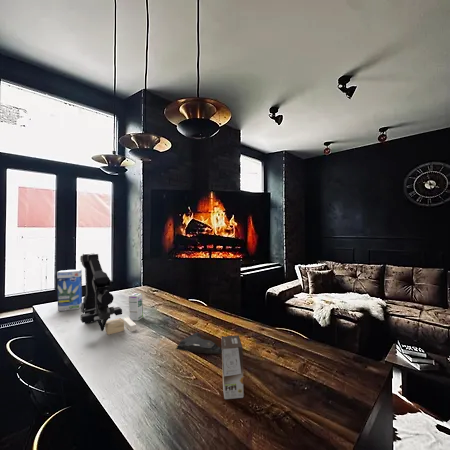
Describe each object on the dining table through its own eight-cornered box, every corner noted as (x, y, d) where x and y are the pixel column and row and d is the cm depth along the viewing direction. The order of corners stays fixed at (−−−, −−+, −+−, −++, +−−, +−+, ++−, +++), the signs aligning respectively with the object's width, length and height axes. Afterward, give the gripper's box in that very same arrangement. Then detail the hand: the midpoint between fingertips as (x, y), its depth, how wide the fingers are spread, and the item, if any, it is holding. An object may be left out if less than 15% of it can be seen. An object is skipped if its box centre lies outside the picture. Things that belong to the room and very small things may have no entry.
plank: (122, 323, 145) (122, 318, 145) (128, 322, 147) (128, 317, 147) (130, 331, 134) (130, 326, 134) (136, 330, 136) (136, 324, 136)
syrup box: (138, 320, 149) (137, 295, 149) (129, 320, 151) (128, 295, 151) (143, 317, 155) (142, 293, 155) (134, 316, 156) (133, 292, 156)
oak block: (105, 331, 136) (105, 321, 136) (121, 327, 141) (120, 317, 141) (107, 334, 131) (107, 325, 131) (124, 330, 136) (124, 321, 136)
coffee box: (244, 398, 81) (243, 347, 81) (224, 399, 81) (222, 348, 81) (240, 380, 90) (239, 334, 90) (222, 381, 90) (220, 335, 90)
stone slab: (231, 353, 115) (231, 342, 114) (204, 370, 102) (204, 358, 102) (197, 335, 130) (197, 325, 129) (170, 348, 117) (170, 337, 117)
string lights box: (57, 311, 170) (56, 272, 170) (61, 307, 178) (60, 270, 178) (79, 309, 174) (78, 270, 173) (82, 305, 181) (81, 268, 181)
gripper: (83, 308, 120) (84, 341, 120) (124, 300, 131) (125, 331, 131) (79, 302, 129) (80, 334, 129) (118, 296, 140) (119, 324, 140)
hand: (102, 331), depth 132 cm, fingers closed
